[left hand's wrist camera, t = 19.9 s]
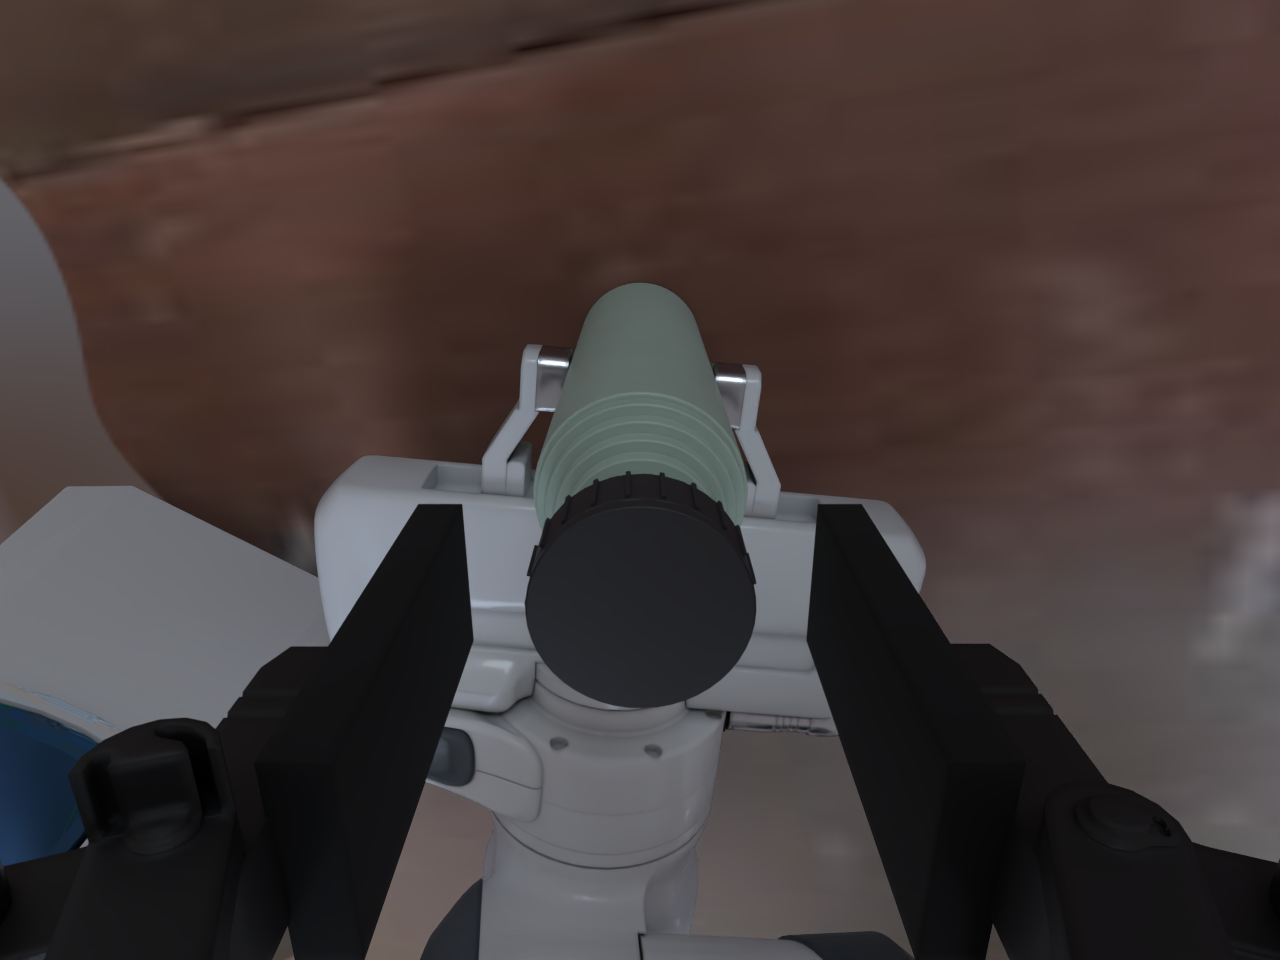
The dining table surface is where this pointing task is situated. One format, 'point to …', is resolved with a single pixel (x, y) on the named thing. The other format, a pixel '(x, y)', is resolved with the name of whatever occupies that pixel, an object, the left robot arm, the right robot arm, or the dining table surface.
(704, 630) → the cap
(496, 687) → the right robot arm
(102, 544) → the electronic device
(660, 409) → the bottle
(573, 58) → the dining table surface
